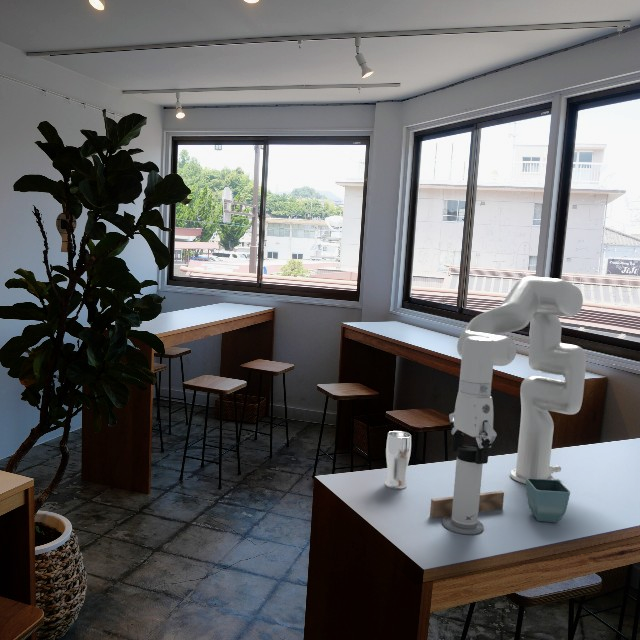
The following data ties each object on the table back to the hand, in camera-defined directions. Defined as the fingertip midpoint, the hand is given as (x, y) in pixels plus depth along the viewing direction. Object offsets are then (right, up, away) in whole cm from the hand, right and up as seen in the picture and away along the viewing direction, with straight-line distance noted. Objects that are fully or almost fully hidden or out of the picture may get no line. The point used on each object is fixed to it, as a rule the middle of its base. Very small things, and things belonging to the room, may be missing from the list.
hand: (468, 456), depth 153 cm
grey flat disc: (-1, -17, +2) cm, 18 cm away
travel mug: (-1, -17, +2) cm, 17 cm away
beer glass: (-15, -14, +26) cm, 33 cm away
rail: (+2, -17, +10) cm, 20 cm away
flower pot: (+22, -18, +10) cm, 30 cm away
